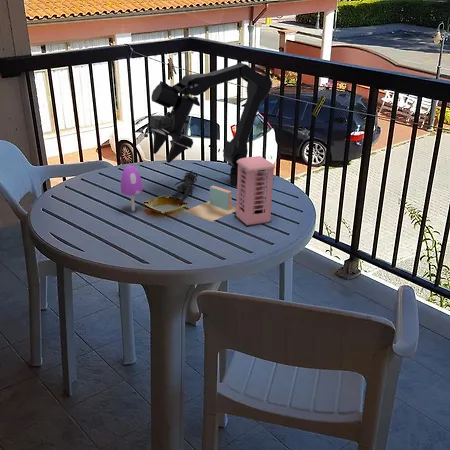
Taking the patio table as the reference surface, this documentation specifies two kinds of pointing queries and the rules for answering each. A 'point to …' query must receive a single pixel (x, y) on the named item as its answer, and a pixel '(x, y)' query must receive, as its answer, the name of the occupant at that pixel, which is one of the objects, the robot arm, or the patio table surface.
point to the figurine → (185, 186)
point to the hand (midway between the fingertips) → (160, 157)
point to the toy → (131, 183)
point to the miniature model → (254, 191)
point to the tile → (220, 198)
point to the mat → (210, 211)
